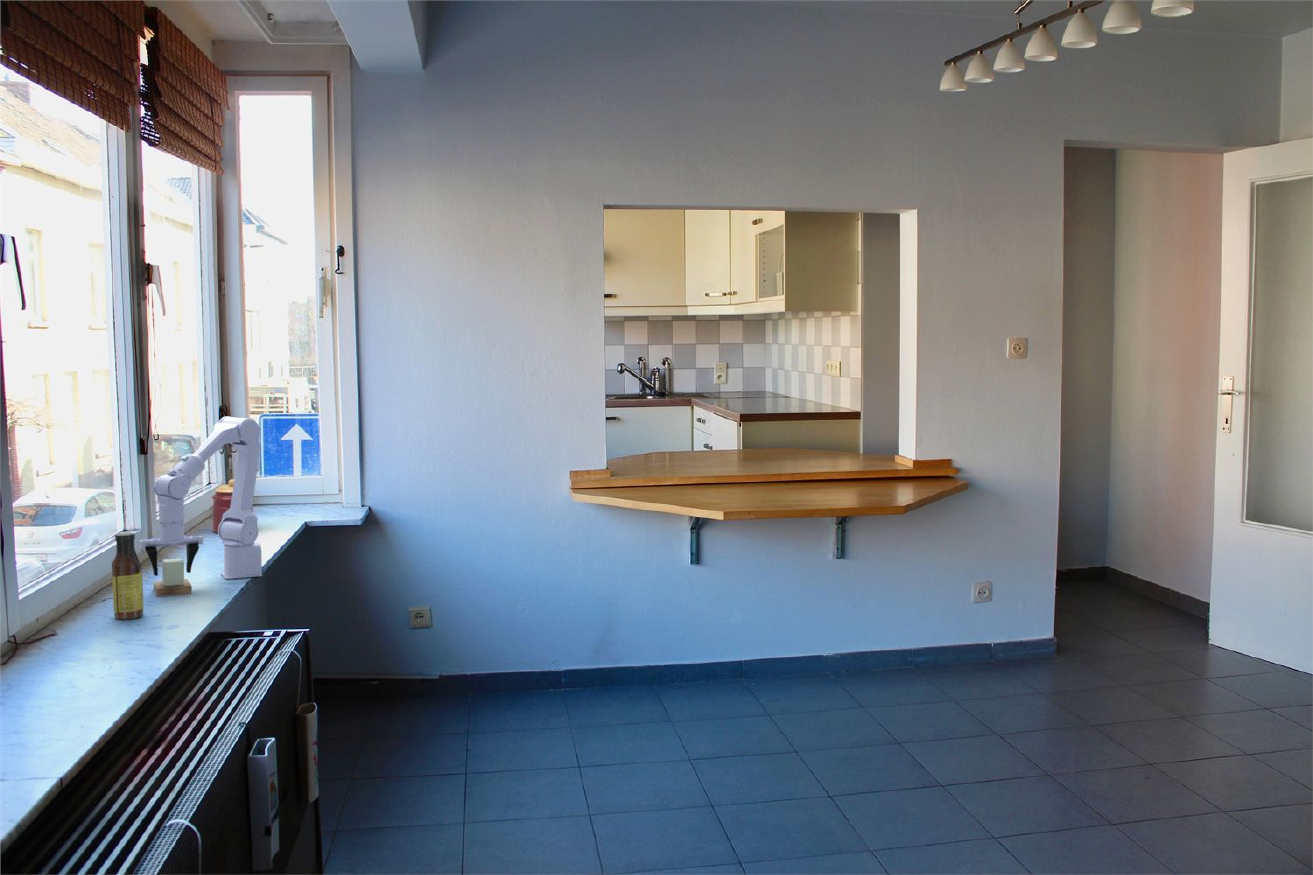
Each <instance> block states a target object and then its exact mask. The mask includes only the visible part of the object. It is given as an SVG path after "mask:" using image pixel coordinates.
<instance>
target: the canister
mask: <svg viewBox="0 0 1313 875" xmlns="http://www.w3.org/2000/svg"><path fill="white" fill-rule="evenodd" d="M234 479H235V478H232V479H230V480H228V483H227V484H222V485H219V486H218V487H216V488H215V489H214V490H213V491H214V492H215V494H213V495H212V496H211V498H212V499H213V503H212V506H211V508H212V510H211V512H212V516H211V517H212V524H211V528H212V532H213V533H215V534H218V527H219V524H220V523H221V521H222V518H223V514H224V513H225V512H226V511H227V510H229V509H230V506H231V500H232V493H233V486H234ZM253 508H254V505H253V504H252V509H251V510H252V512H253V513H254V510H253ZM237 520H240V521H242V520H241V519H237Z"/></svg>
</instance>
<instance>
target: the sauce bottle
mask: <svg viewBox="0 0 1313 875" xmlns="http://www.w3.org/2000/svg"><path fill="white" fill-rule="evenodd" d="M114 536H115V537H114V540H115V542H116V550H115V552H116V553H115V557H114V558H113V560H112V562H111V570H112V571H111V572H112V574H111V583H112V585H111V586H112V598H113V599H112V601H113V603H112V604H113V605H112V606H113V612H114V618H115V619H118V620H132V619H133V620H135V619H137V618H141V617H142V616H143V615H144V592H143V591H144V590H143V588H144V587H143V568H142V564H141V562H140V560H139V557H138V555H137V553H136V548H135V539H136V538H135V537H136V535H135V533H134V532H130V531H128V532H119V533H116V534H115V535H114Z"/></svg>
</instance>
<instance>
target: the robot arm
mask: <svg viewBox="0 0 1313 875" xmlns="http://www.w3.org/2000/svg"><path fill="white" fill-rule="evenodd" d="M261 429H262V427H261V426H260V425H259V424H258V422H257V421H256V420H255V419H254V418H248V417H247V418H242V417H233V416H223V417H222V418H220V420H218V422H217V423H215V424H214V427H213V431H212V432H211V433H210V435H209V436H208V437H206V439H205V440H204V441H203V442H202V443H201V445H200V446H199V447H198V448H197V449H196V451H195V452H194V453H193V454H192V453H188V454H186V455H182V456H181V458H180V461H178V463H177V464H176V465H175V466H174V467H173V468H172V469H171V468H170V470H168V473H167V474H164V475H161V476H159V477H158V478H157V479H156V481H155V483H154V486H152V487H153V492H154V493H155V495H156V497H157V502H158V512H159V513H158V517H159V518H158V519H159V521H158V525H159V529H158V531H159V532H158V533H159V537H155V538H147V539H140V542H139V547H140V550H141V549H144V550H145V552H146V554H147V555H148V558H149V560H150V563H151V566H152V570H153V576H158V575H159V571H158V551H157V550H158V549H157V548H159V547H160V548H163V547H175V546H177V547H178V546H186V547H185V548H186V566H185V567H186V569H185V570H186V573H187V574H190V573H191V572H192V566H193V563H194V559H195V557H196V555H197V554H198V551H199V549H200V546H199V545H204V538H203V536H202V535H185V519H184V518H185V513H184V510H185V509H184V508H185V507H184V506H185V505H184V504H185V503H184V500H185V499H184V498H185V496H187V495H188V494H189V490H190V487H191V485H192V482H193V481H194V480H195V479H196V478H198V476H199V475H201V473H202V472H203V471H204V470H205V467H206V465H205V463H206V462H207V460H209V459H210V458H211V457H212V456H214V454H216V452H218V451H219V450H220V449H221V448H222V447H224V446H225V445H226V444H230V445H232V446H233V447H234V448H235V450H236V451H237V452H238V454H237V461H236V468H235V472H234V473H235V474H234V478H233V479H234V486H233V493H232V500H231V506H230V509H229V510H227V511H226V512H225V513H224V514H223V518H222V521H221V523H220V524H219V527H218V533H217V534H218V537H219V539H220V540H222V544H223V546H224V547H223V548H224V549H223V550H224V551H223V553H224V558H223V560H224V566H223V567H224V571H221V572H220V574H221V575H222V577H223V578H224V579H225V580H231V579H232V580H233V579H243V578H254V577H255V578H256V577H262V576H263V574H262V567H263V566H262V547H261V544H260V542H255V541H257V539H258V536H259V531H260V530H259V527H258V520H259V518H258V516H257V515H256V514H255V513H254V511H253V512H252V510H251V509H252V505H253V502H254V495H255V487H256V482H257V473H258V469H259V468H258V467H259V462H260V461H259V460H260V454H261V440H260V436H261ZM237 519H241V520H242V521H240V520H237Z"/></svg>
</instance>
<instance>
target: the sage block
mask: <svg viewBox="0 0 1313 875" xmlns="http://www.w3.org/2000/svg"><path fill="white" fill-rule="evenodd" d="M161 560H162V561H161V562H162V563H161V568H162V569H161V571H162V572H161V581H162V583H163V585H164V586H172V585H184V579H185V561H184V559H182V558H166V559H161Z"/></svg>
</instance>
